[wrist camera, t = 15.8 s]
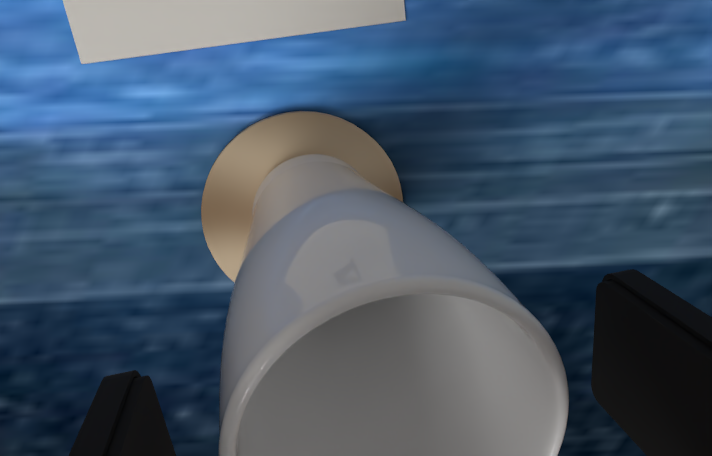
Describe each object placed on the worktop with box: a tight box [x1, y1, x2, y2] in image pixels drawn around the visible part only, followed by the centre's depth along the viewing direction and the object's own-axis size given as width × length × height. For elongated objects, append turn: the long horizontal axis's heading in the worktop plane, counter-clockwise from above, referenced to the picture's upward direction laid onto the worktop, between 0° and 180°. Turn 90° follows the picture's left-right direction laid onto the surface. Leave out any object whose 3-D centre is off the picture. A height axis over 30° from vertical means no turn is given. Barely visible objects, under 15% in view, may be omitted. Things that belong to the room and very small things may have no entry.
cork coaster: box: [201, 111, 403, 282], centre depth 24 cm, size 9×9×1 cm
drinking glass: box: [219, 154, 569, 456], centre depth 16 cm, size 7×7×15 cm
